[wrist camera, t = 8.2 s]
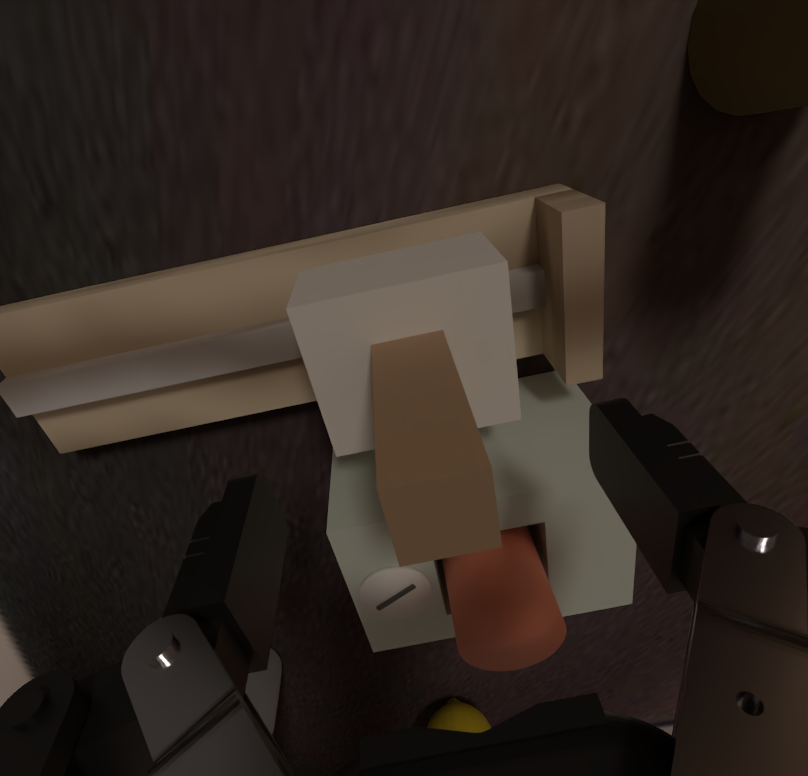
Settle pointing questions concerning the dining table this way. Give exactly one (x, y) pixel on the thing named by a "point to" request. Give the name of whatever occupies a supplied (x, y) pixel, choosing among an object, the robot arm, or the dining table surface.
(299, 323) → the carriage
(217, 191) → the dining table surface
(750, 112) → the dark brown knob shape
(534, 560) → the gauge plunger
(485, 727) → the lemon
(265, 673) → the lotion bottle
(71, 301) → the rail
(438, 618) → the cabinet
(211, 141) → the dining table surface
